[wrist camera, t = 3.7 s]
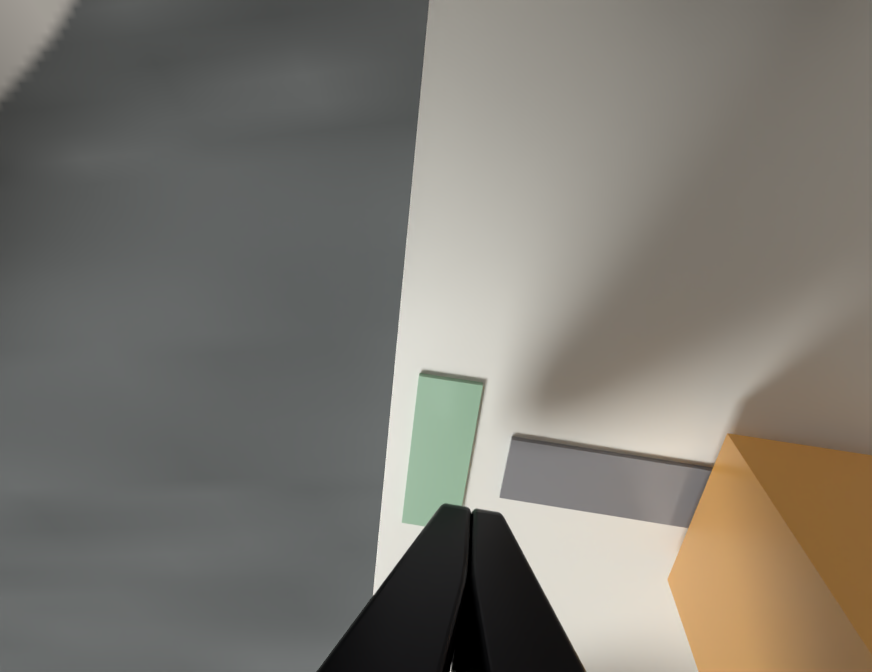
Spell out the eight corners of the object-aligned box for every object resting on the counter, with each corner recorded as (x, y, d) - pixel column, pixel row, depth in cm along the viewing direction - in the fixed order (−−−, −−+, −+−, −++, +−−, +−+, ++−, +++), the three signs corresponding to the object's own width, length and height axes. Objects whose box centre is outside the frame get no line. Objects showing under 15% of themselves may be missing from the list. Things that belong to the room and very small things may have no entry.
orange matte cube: (666, 579, 9) (773, 893, 6) (727, 432, 8) (912, 717, 4) (849, 609, 9) (1074, 950, 6) (938, 465, 8) (1306, 784, 4)
